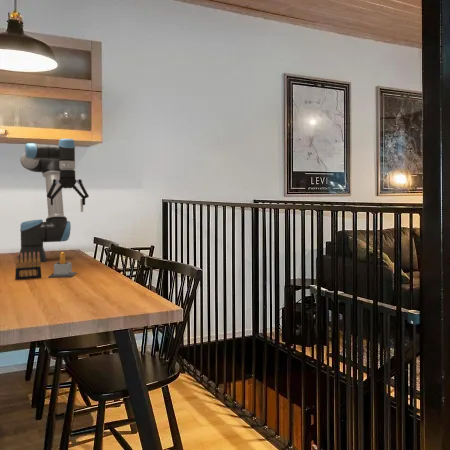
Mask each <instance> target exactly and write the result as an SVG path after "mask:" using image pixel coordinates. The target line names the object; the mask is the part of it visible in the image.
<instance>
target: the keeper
mask: <svg viewBox="0 0 450 450" xmlns="http://www.w3.org/2000/svg"><path fill="white" fill-rule="evenodd" d="M59 262H60V264H65V262H66V252H64V251H61V252H60V253H59ZM77 273H78V272H77V271H72V273H71V274H69V275H54V272H53V273H52V274H50V275H48V277H47V278H49V279H52V278H53V279H54V278H57V279H58V278H72V277H73V276H75V275H76V274H77Z"/></svg>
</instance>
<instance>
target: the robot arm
mask: <svg viewBox="0 0 450 450" xmlns="http://www.w3.org/2000/svg"><path fill="white" fill-rule="evenodd" d="M75 143H76V142H75V140H74V139H72V138H60V139H59V140H58V144H52V143H51V144H49V143H47V144H45V143H35V142H30V143H28V142H27V143H26V144H25V145H24V146H25V147H24V152H23V153H22V155H21V156H20V158H19V159H20V160H19V161H20V164H21V166H22V167H23V168H25V170H28V171H30V172H34V173H41V174H42V177H43V178H45V188H46V189H45V190H46V191H45V192H46V202H47V203H46V204H47V217H46V219H45V221H44V220H43V219H31V220H25V221H23V222H21V223H20V228H19V229H20V230H19V231H20V250H19V252H18V253H19V254H18V256H19V264H20V253H21V252H22V255H23V262H24V254H25V252H26V253H27V260H28V258H29V252H30V253H31V258H32V261H33V252H35V255H36V263H37V253H38V251H39V253H40V261H41V263H44V262H47V261H48V258H47V254H46V251H45V249H44V243H57V242H59V243H61V242H66V241H68V240H69V239H70V235H71V229H72V227H71V221H69V220H68V218H67V216H65V214H64V213H65V212H64V203H63V201H64V200H63V189H73V190H74V191H75V192H76V193H77V194H78V196H79V197H81V198H80V212H81V213H82V212H83V213H84V206H86V199H87V198H89V193H88V191H87V190H86V188H85V186H84V184H83V180H82V179H76V155H75V154H76V150H75V149H76V145H75ZM76 184H78V185H79V187H80V188H81V190H82V192H83V193H82V192H81V191H80V189H79V188H78V187H77V186H76Z"/></svg>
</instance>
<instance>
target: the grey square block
mask: <svg viewBox="0 0 450 450" xmlns="http://www.w3.org/2000/svg"><path fill="white" fill-rule="evenodd" d="M72 272H73V271H72V262H71V261H69V262H68V261H67V262H66V261H65V264H60V261H58V262H55V263H54V264H53V273H54V275H69V274H71V273H72Z"/></svg>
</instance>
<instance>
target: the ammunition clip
mask: <svg viewBox="0 0 450 450" xmlns="http://www.w3.org/2000/svg"><path fill="white" fill-rule="evenodd" d="M18 253H20V252H16V254H15V262H14V263H15V265H14V266H15V269H14V270H15V272H14V273H15V275H14V279H15V280H16V281H18V280H19V281H20V280H30V279H31V280H32V279H42V278H43V277H42V268H41V267H42V265H41V263H42V262H41V261H40V253H39V251H38V253H37V266H36V255H35V252H33V261H32V258H31V253H30V252H29V258H28V260H27V253H26V252H25V254H24V262H23V255H22V252H21V253H20V263H19V254H18ZM32 266H33V267H32ZM32 270H33V275H32Z"/></svg>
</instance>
